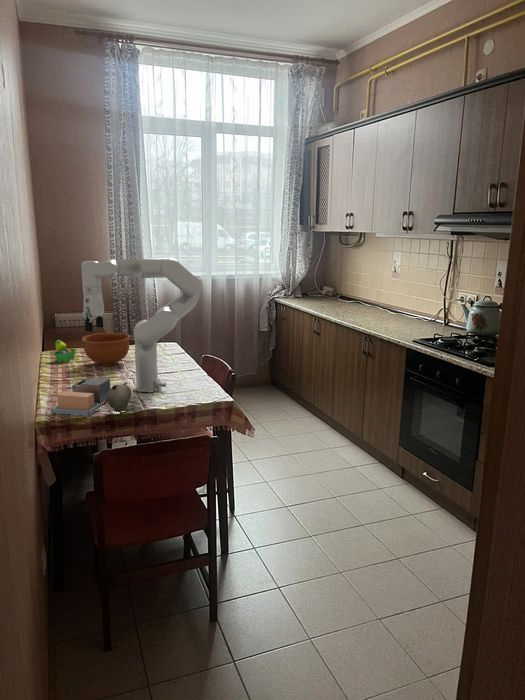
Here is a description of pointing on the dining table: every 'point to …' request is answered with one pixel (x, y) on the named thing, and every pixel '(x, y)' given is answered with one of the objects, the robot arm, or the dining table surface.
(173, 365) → the dining table surface
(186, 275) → the robot arm
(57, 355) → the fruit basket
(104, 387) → the dispenser
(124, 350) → the bowl
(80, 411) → the tray
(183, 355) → the dining table surface
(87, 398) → the tan rectangular block
